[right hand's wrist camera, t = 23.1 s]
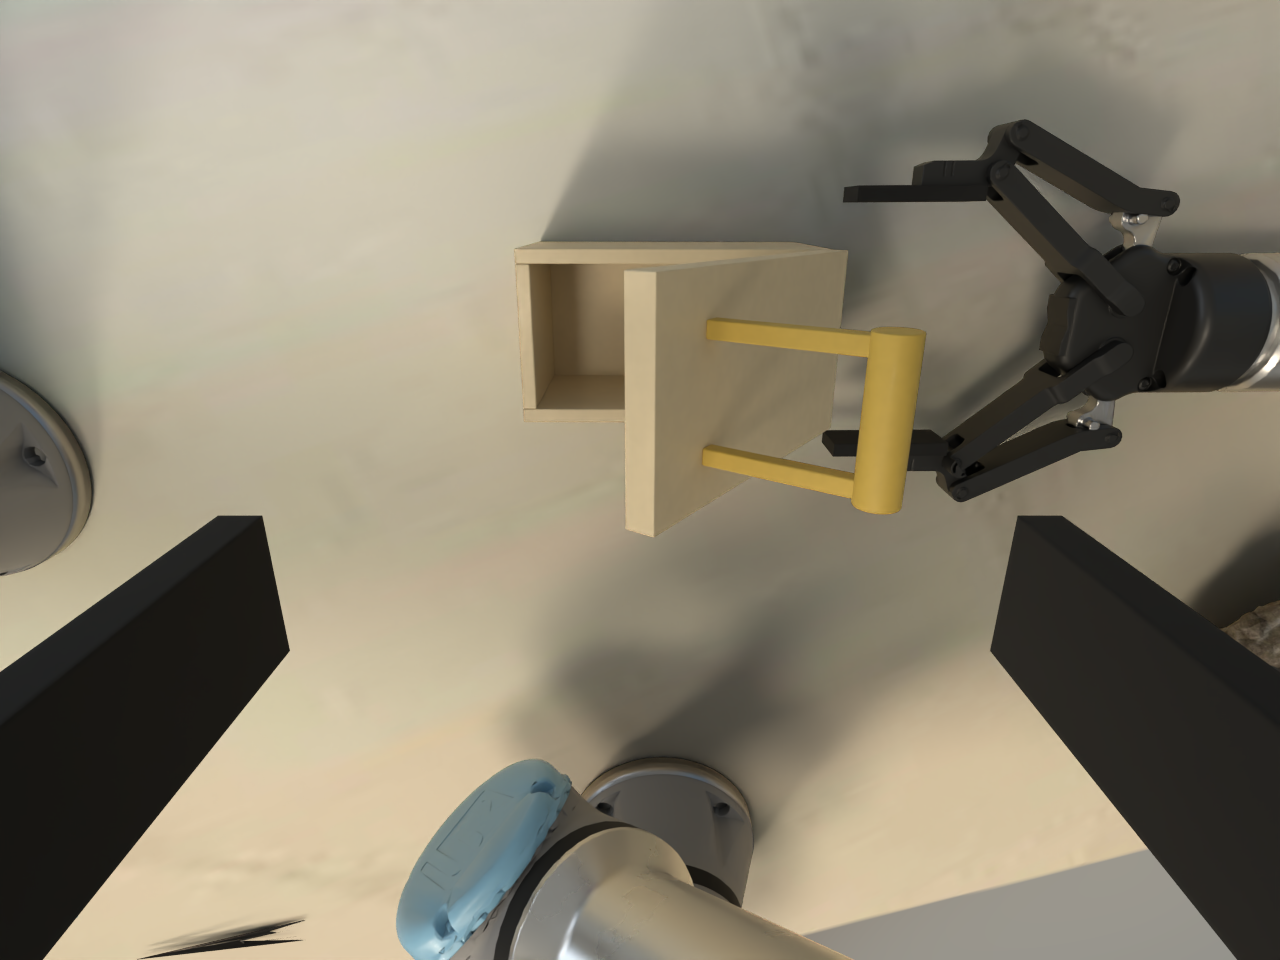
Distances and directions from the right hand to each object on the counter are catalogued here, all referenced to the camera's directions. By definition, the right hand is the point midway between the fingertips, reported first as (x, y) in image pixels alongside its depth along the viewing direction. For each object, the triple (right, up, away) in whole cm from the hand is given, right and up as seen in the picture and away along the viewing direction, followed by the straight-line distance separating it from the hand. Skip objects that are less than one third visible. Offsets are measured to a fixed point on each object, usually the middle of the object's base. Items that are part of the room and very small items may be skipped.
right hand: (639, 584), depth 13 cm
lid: (+4, +7, +18) cm, 19 cm away
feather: (-43, -41, +53) cm, 80 cm away
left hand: (+11, +10, +27) cm, 31 cm away
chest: (+2, +12, +33) cm, 35 cm away
